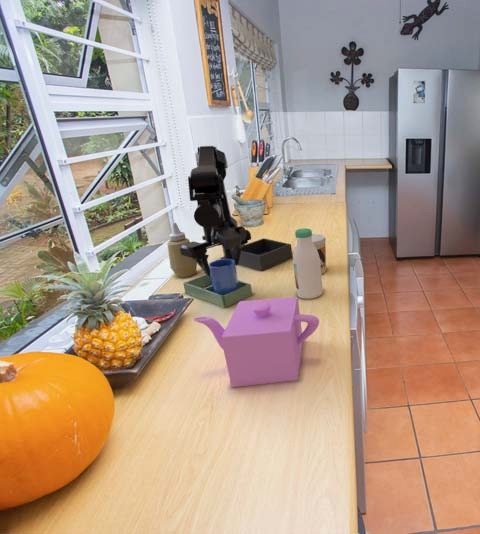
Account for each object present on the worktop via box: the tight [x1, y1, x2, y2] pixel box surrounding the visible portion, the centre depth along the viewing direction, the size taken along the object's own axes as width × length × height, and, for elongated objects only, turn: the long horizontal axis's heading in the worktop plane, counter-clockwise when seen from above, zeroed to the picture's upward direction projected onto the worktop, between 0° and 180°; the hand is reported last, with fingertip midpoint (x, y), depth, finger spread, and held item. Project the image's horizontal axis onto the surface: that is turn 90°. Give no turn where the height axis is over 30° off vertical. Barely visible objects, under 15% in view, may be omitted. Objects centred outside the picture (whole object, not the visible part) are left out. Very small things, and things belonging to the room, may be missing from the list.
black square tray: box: [237, 237, 293, 272], centre depth 141 cm, size 15×15×6 cm
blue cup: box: [208, 258, 239, 295], centre depth 113 cm, size 7×7×11 cm
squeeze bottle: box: [167, 222, 198, 278], centre depth 128 cm, size 8×8×18 cm
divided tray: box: [183, 274, 253, 309], centre depth 116 cm, size 19×10×4 cm, turn 59°
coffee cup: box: [312, 233, 327, 275], centre depth 131 cm, size 9×9×12 cm
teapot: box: [193, 296, 320, 388], centre depth 83 cm, size 15×25×14 cm, turn 99°
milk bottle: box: [292, 227, 324, 300], centre depth 113 cm, size 8×8×20 cm
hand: (223, 270), depth 112 cm, fingers open, 9 cm apart
